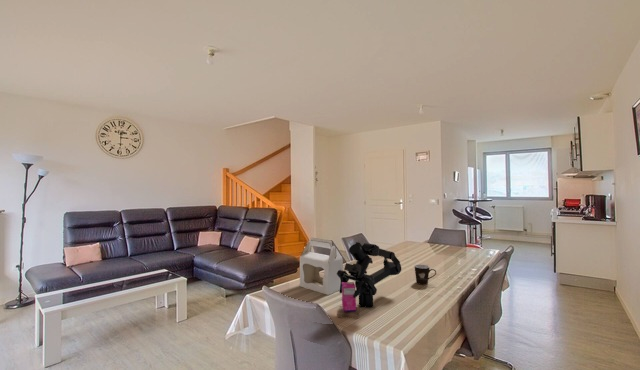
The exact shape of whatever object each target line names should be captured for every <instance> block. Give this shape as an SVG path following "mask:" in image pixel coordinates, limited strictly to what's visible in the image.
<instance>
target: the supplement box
mask: <svg viewBox="0 0 640 370" xmlns="http://www.w3.org/2000/svg"><path fill="white" fill-rule="evenodd" d="M355 291H356V286H355V281H348V282H343V283H342V293H341V298H342V299H341V300H342V301H341V303H342V305H341V306H342V307H343V310H344V312H347V311H356V307H357V300H356V298H357V297H356V298H354V297H353V296H354V293H355Z"/></svg>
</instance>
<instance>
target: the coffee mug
mask: <svg viewBox="0 0 640 370" xmlns="http://www.w3.org/2000/svg"><path fill="white" fill-rule="evenodd" d="M431 271H434V274H433V275H431V276H430V272H431ZM414 273H415V274H414V275H415V281H416V282H415V283H416V284H418V285H422V286H423V285H426V286H427V285H428V282H429V279H431V278H433V277H434V276H436V275H437V271H436V269H434V268H431V269H430V266H429V265H427V264H415V265H414Z"/></svg>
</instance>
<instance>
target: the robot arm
mask: <svg viewBox="0 0 640 370" xmlns="http://www.w3.org/2000/svg"><path fill="white" fill-rule="evenodd" d="M348 252H349V253H350V254H351V257H352V258H353V259H354V260H355V261H356V263H353V264H352V263H347V262H345V265H344V267H343V270H338V272H337V275H338V276H339V278H340V280H341V284H340V290H339V291H338V292H339V294H342V283H343V282H350V281H349V280H351V281H353V282H354V284H355V293H354V296H353V297H354V298H357V297H358V305H359V308H369V309H373V308H374V296H376V295H377V292H378V289H377V288H376V286H375V285H377V284H378V283H380V282H382V281H383V280H385V279H386V278H388V277H389V276H396V275H399V274H400V273H401V272H402V265H401V262H400V260H399V259H398V258H397V256H396V254H395V252H393V251H390V250H386V249H384V248H380V246H378V244H374V243H368V242H364V243H363V244H361V242H359V241H356V242H355V243H354V244H352V245H351V246H349V248H348ZM373 257H382V258H383V261H382V262H383V267H381V269H378V270H377V271H376V272H373V273H371V274H368V271H367V270H368V267H369V266H370V265H371V264H374V263H373V259H372V258H373ZM389 260H391V261H389Z"/></svg>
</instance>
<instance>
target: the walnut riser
mask: <svg viewBox="0 0 640 370" xmlns="http://www.w3.org/2000/svg"><path fill="white" fill-rule="evenodd" d="M359 314H360V306H356V311H347V312H344V310H343V307H342V305H339V308H338V312H337V318H341V319H343V318H344V319H359V316H360V315H359Z"/></svg>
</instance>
